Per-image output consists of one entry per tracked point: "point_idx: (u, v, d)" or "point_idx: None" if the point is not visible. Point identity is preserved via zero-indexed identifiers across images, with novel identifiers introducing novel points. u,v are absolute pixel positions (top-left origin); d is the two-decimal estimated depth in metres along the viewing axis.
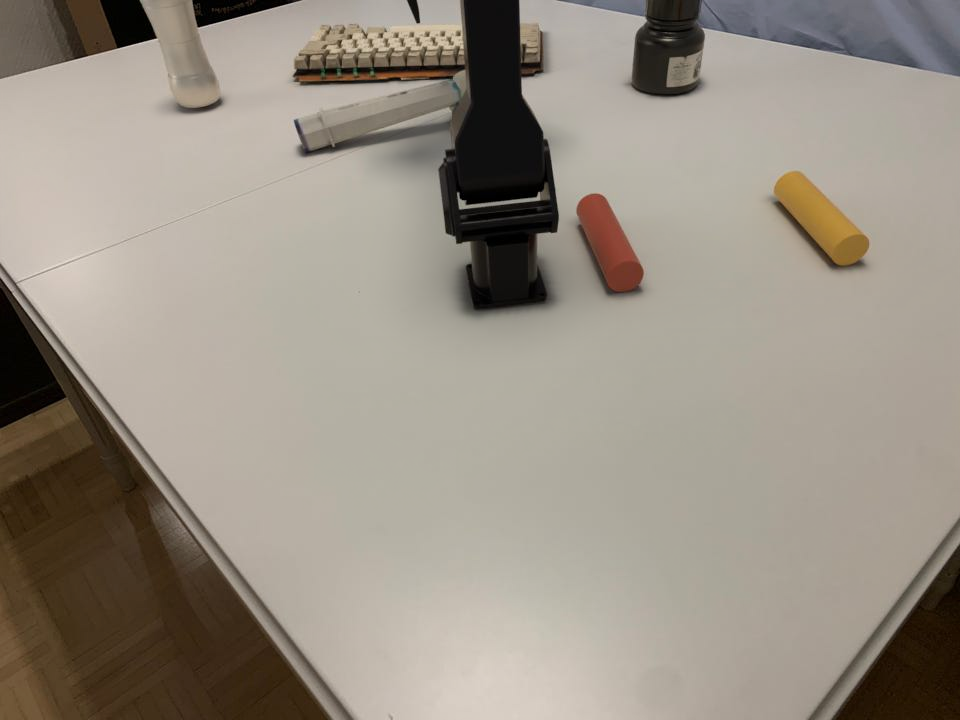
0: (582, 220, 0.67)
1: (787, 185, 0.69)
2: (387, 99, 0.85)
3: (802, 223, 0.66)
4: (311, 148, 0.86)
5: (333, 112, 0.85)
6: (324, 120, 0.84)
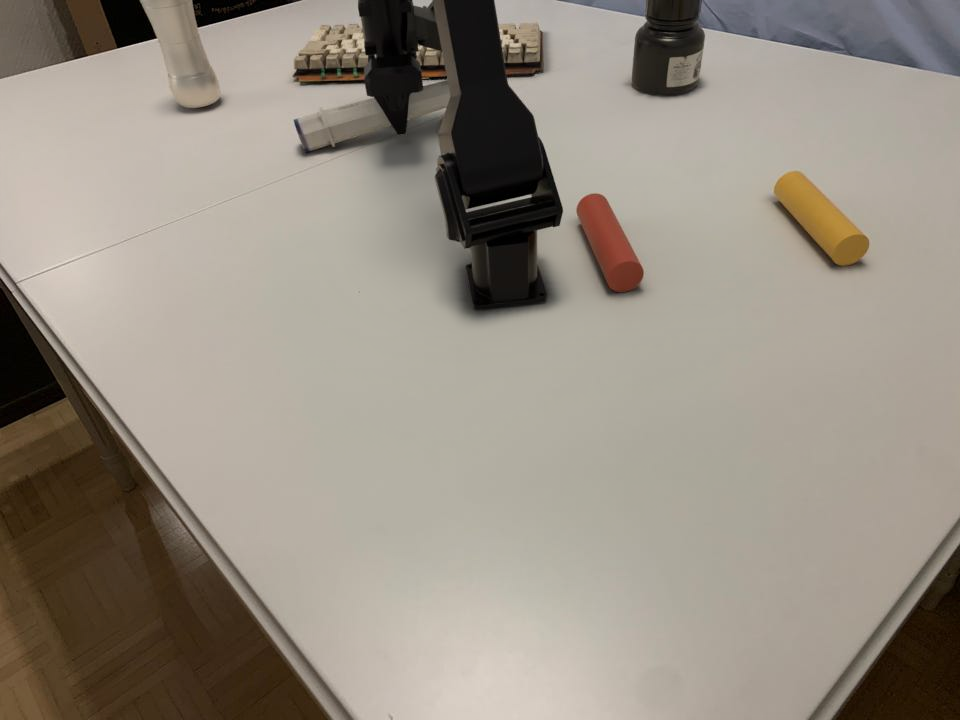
0: (582, 220, 0.67)
1: (787, 185, 0.69)
2: None
3: (802, 223, 0.66)
4: (311, 148, 0.86)
5: (333, 112, 0.85)
6: (324, 120, 0.84)
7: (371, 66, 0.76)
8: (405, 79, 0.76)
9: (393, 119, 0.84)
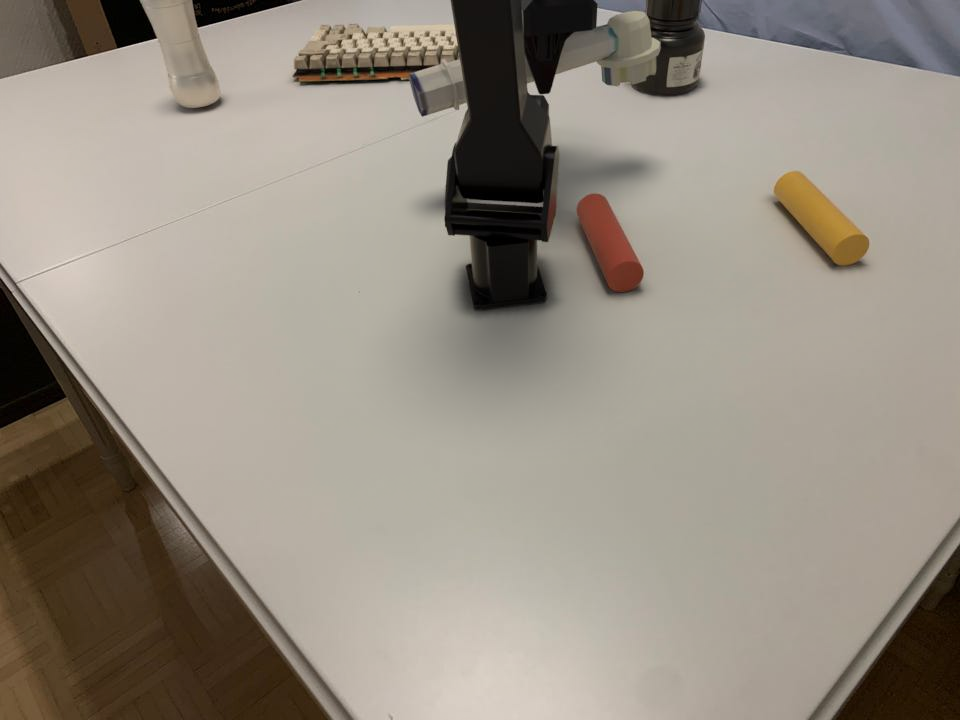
0: (582, 220, 0.67)
1: (787, 185, 0.69)
2: None
3: (802, 223, 0.66)
4: (430, 110, 0.68)
5: (460, 64, 0.66)
6: (450, 74, 0.66)
7: None
8: (577, 11, 0.58)
9: (538, 73, 0.66)
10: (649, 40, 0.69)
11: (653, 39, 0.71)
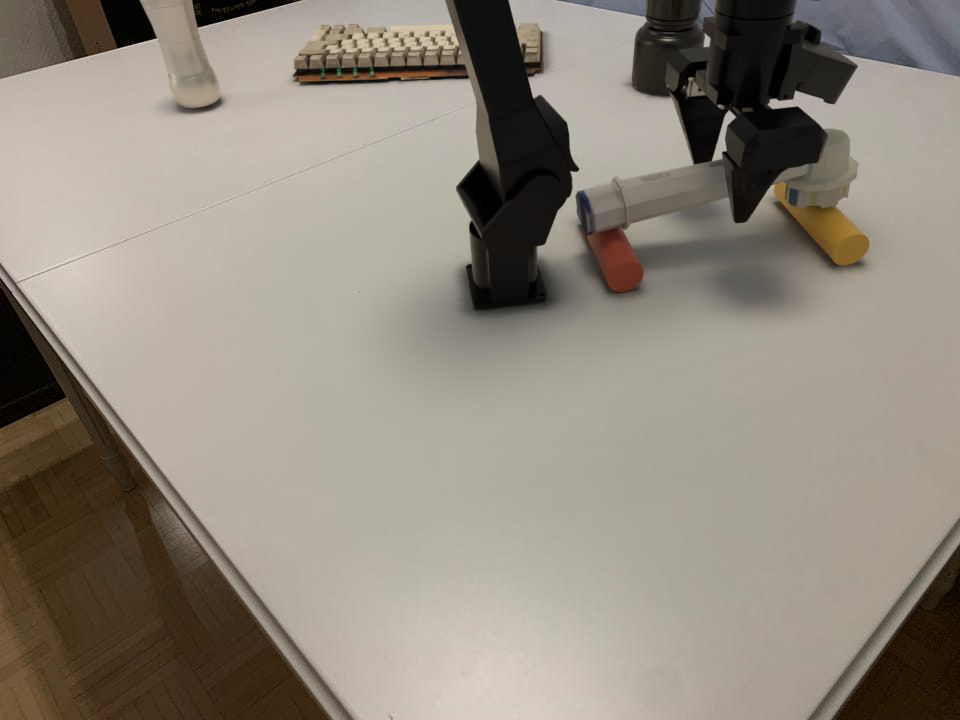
0: None
1: None
2: (711, 170, 0.61)
3: (802, 223, 0.66)
4: (596, 231, 0.62)
5: (636, 184, 0.61)
6: (624, 196, 0.60)
7: (754, 125, 0.51)
8: (806, 144, 0.51)
9: (740, 204, 0.58)
10: (847, 162, 0.62)
11: (849, 158, 0.64)
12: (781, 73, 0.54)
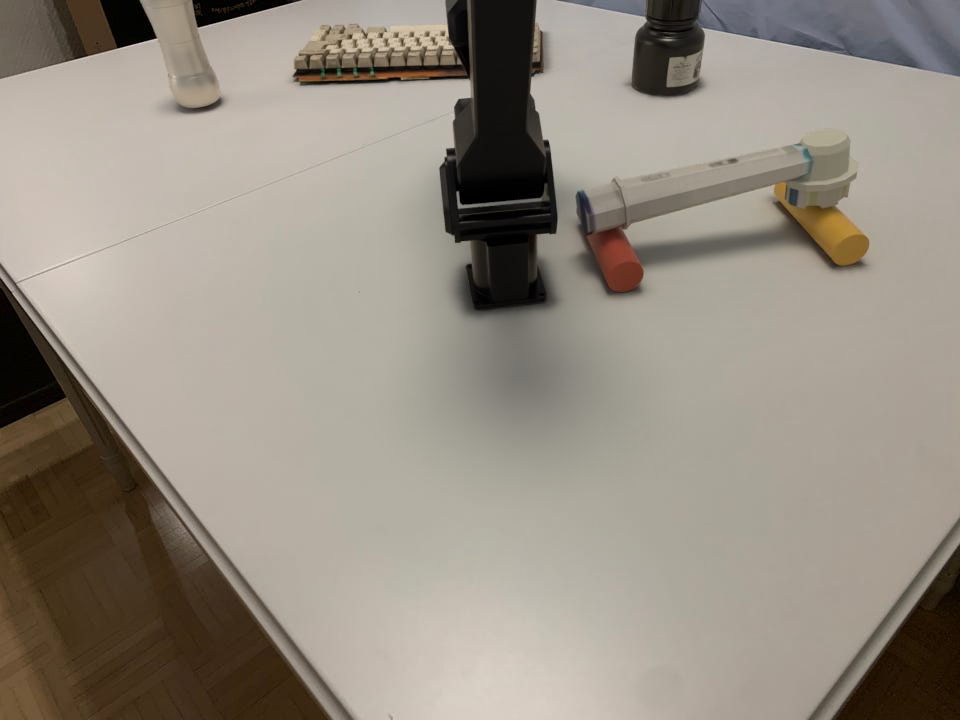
0: None
1: None
2: (711, 170, 0.61)
3: (802, 223, 0.66)
4: (596, 231, 0.62)
5: (636, 184, 0.61)
6: (624, 196, 0.60)
7: None
8: None
9: None
10: (847, 162, 0.62)
11: (849, 158, 0.64)
12: None
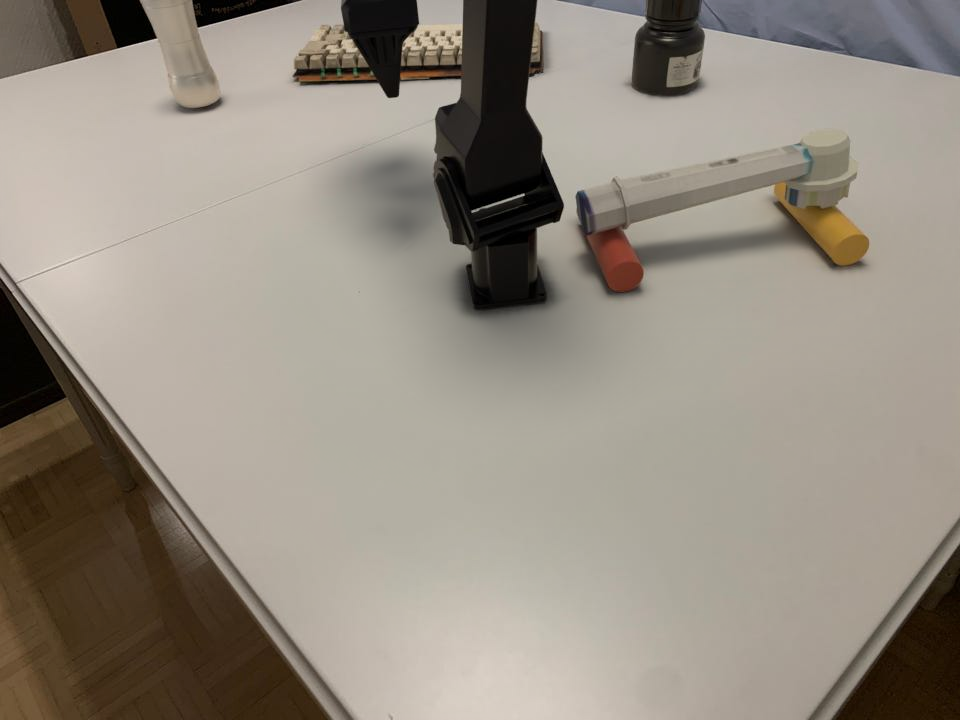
0: None
1: None
2: (711, 170, 0.61)
3: (802, 223, 0.66)
4: (596, 231, 0.62)
5: (636, 184, 0.61)
6: (624, 196, 0.60)
7: None
8: (395, 8, 0.57)
9: (381, 76, 0.64)
10: (847, 162, 0.62)
11: (849, 158, 0.64)
12: None
